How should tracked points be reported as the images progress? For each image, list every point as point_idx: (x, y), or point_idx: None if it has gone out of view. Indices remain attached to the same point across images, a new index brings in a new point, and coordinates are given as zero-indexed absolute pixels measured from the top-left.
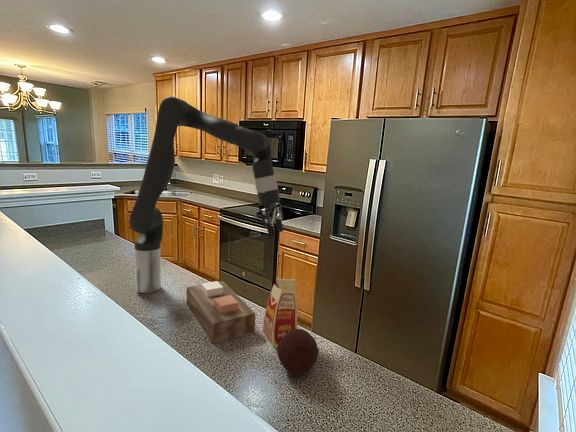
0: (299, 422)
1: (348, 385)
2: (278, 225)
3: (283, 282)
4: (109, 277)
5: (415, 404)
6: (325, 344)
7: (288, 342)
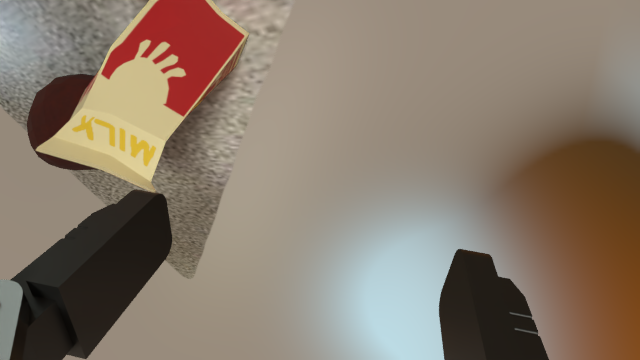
0: (19, 117)
1: None
2: (462, 348)
3: (90, 155)
4: None
5: None
6: (233, 145)
7: (31, 128)
